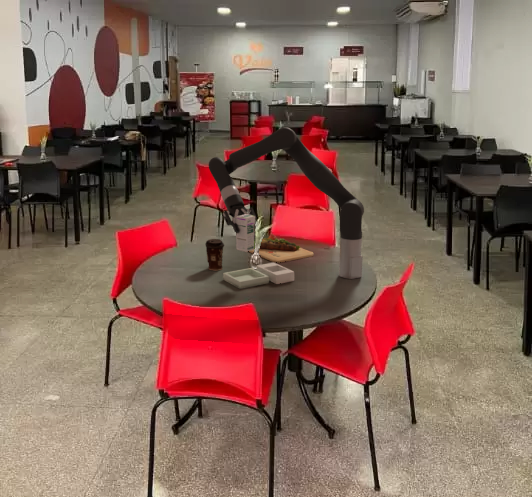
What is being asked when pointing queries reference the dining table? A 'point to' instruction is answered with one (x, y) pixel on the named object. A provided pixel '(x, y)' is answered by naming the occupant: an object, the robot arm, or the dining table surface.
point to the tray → (245, 278)
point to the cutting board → (281, 250)
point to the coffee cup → (214, 254)
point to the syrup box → (245, 232)
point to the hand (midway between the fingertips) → (246, 231)
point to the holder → (276, 273)
